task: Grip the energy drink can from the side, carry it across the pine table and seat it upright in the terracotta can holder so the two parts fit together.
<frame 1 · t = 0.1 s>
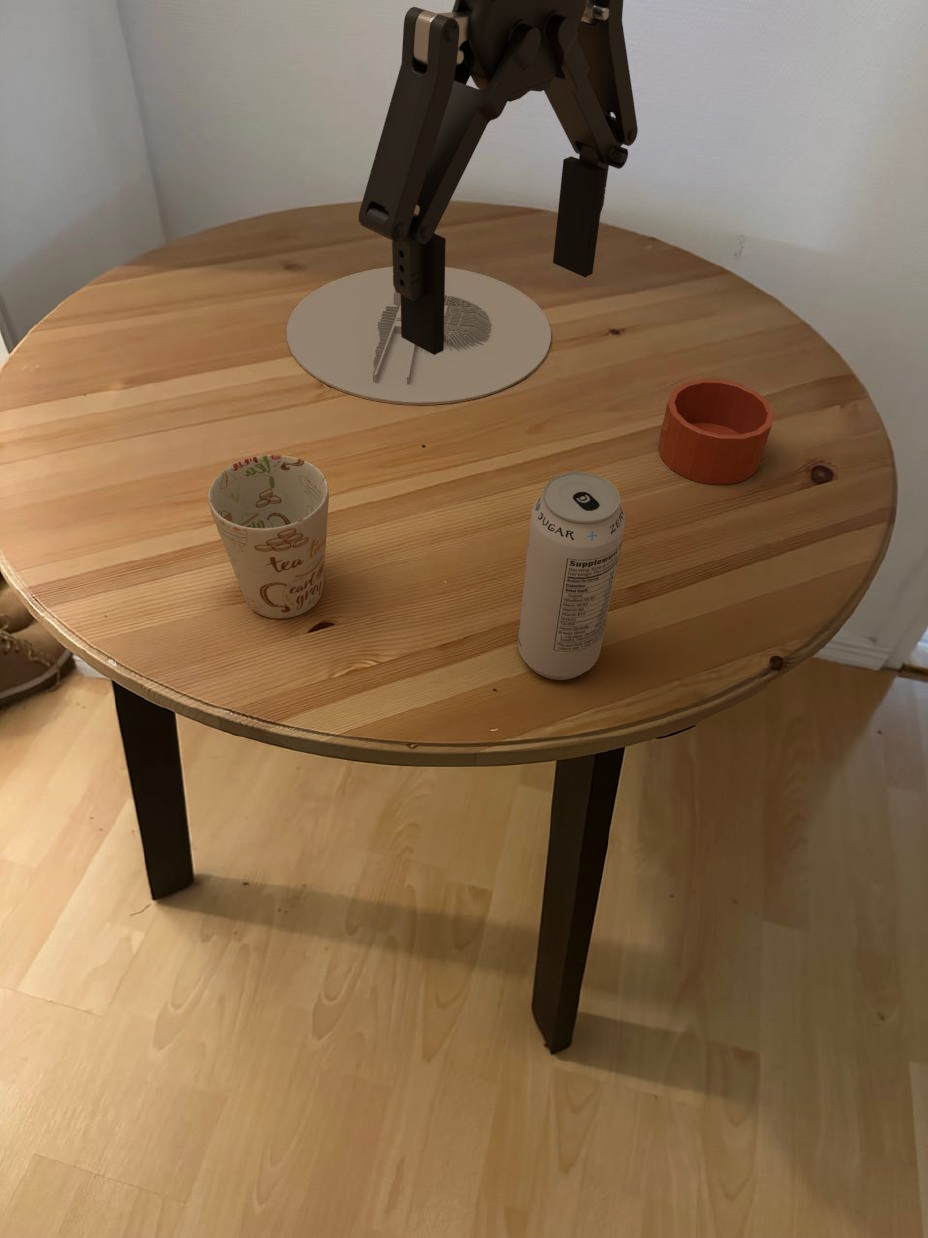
hand: (501, 304, 58), 24 cm above the table, tool pointing down, fingers open, 13 cm apart
mug: (281, 574, 75), on the table
energy drink can: (557, 656, 70), on the table
plate: (419, 331, 102), on the table
holder: (708, 453, 88), on the table
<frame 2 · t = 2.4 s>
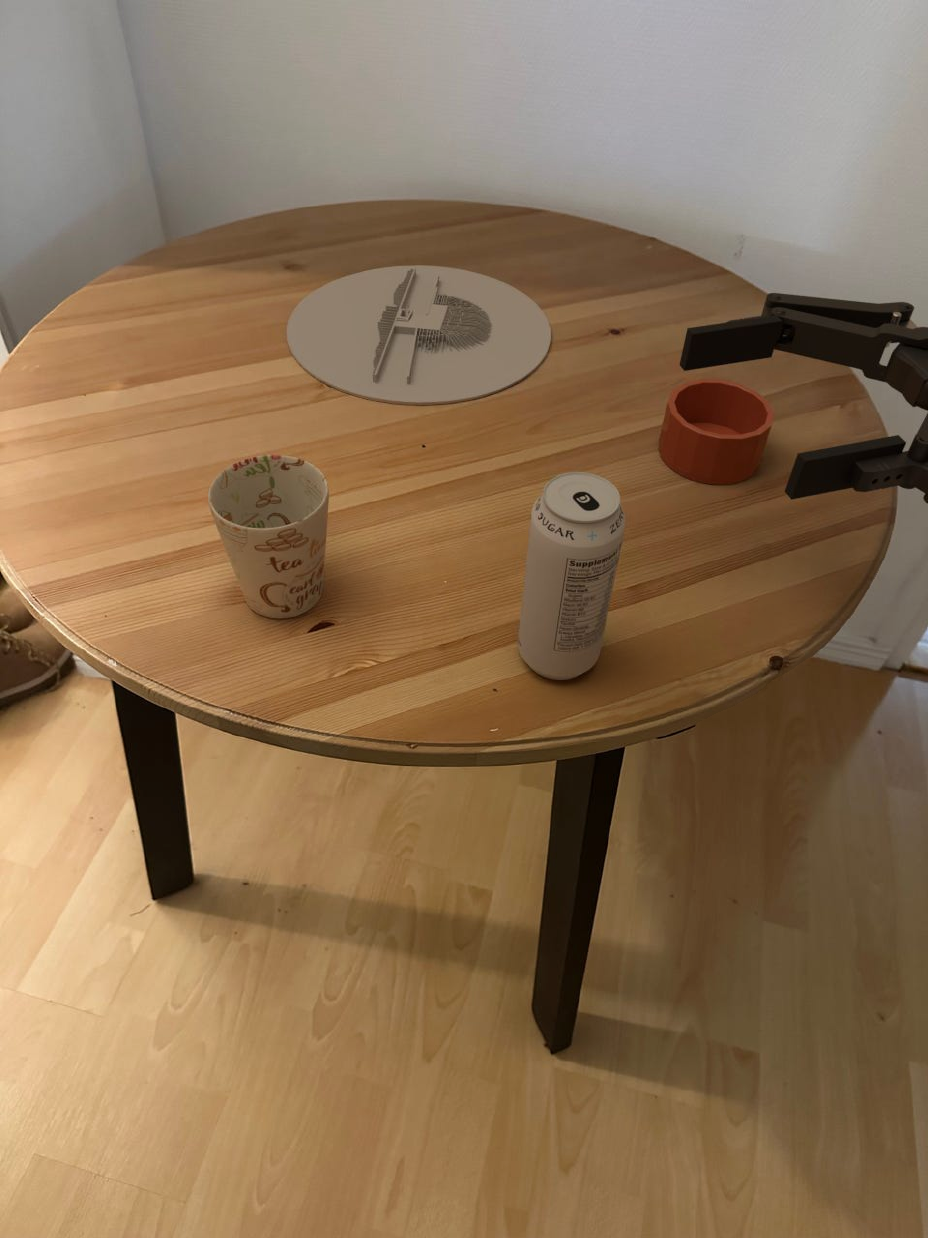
hand: (735, 408, 58), 20 cm above the table, tool horizontal, fingers open, 13 cm apart
nothing on the table moved.
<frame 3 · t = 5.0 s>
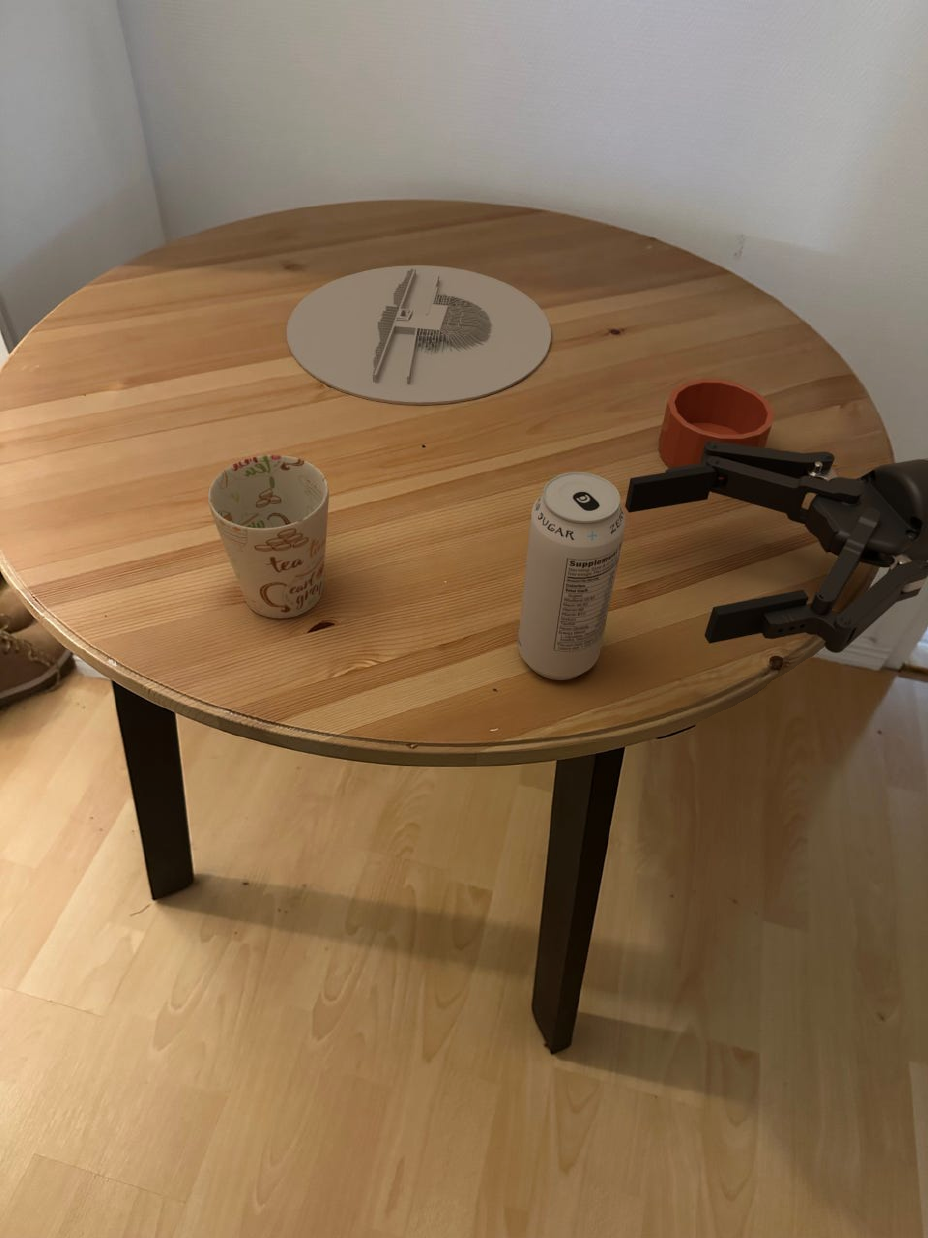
hand: (666, 556, 66), 8 cm above the table, tool horizontal, fingers open, 13 cm apart
nothing on the table moved.
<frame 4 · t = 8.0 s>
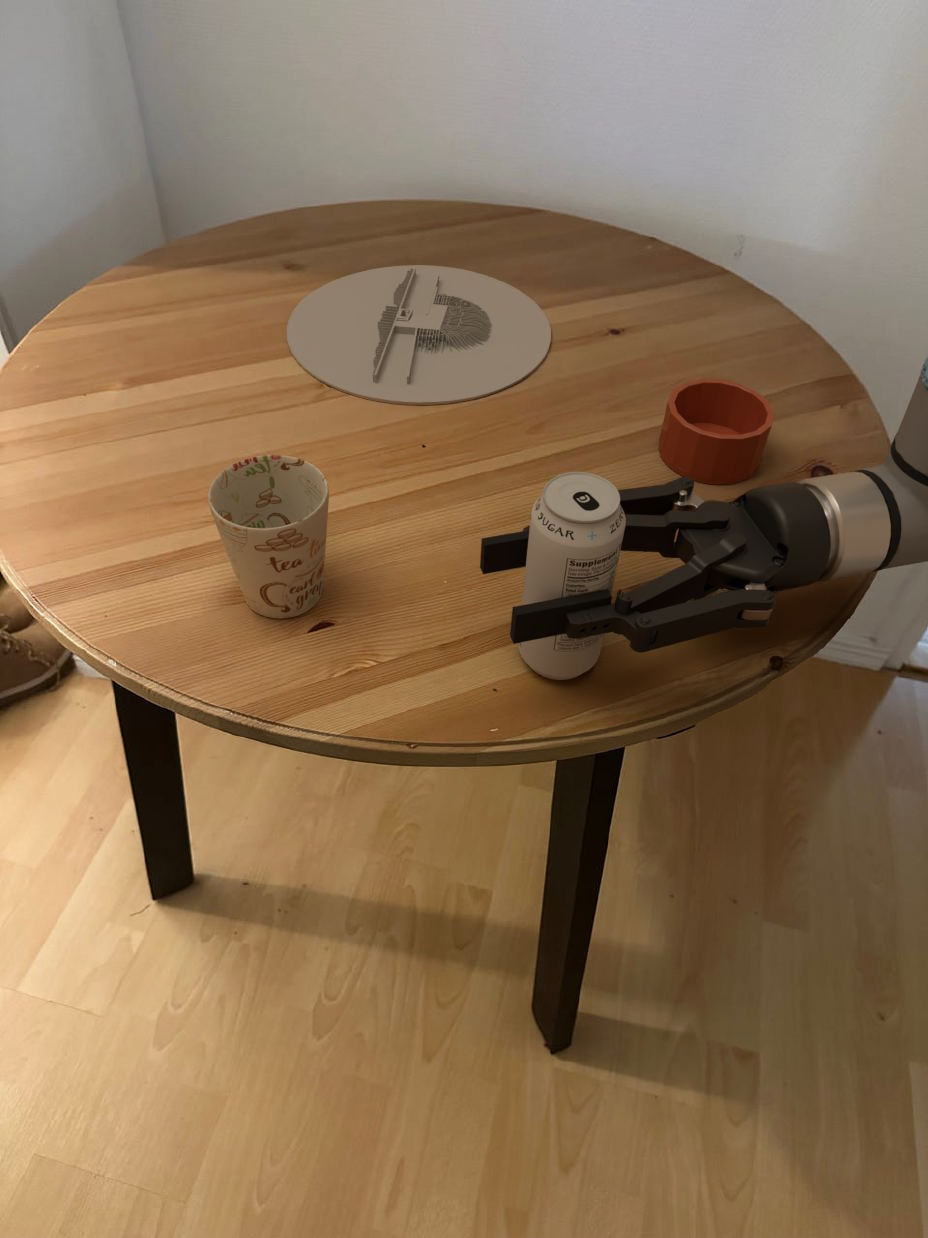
hand: (497, 589, 63), 8 cm above the table, tool horizontal, fingers closed on energy drink can, 6 cm apart
energy drink can: (557, 656, 70), on the table, touching gripper
everything else where it was.
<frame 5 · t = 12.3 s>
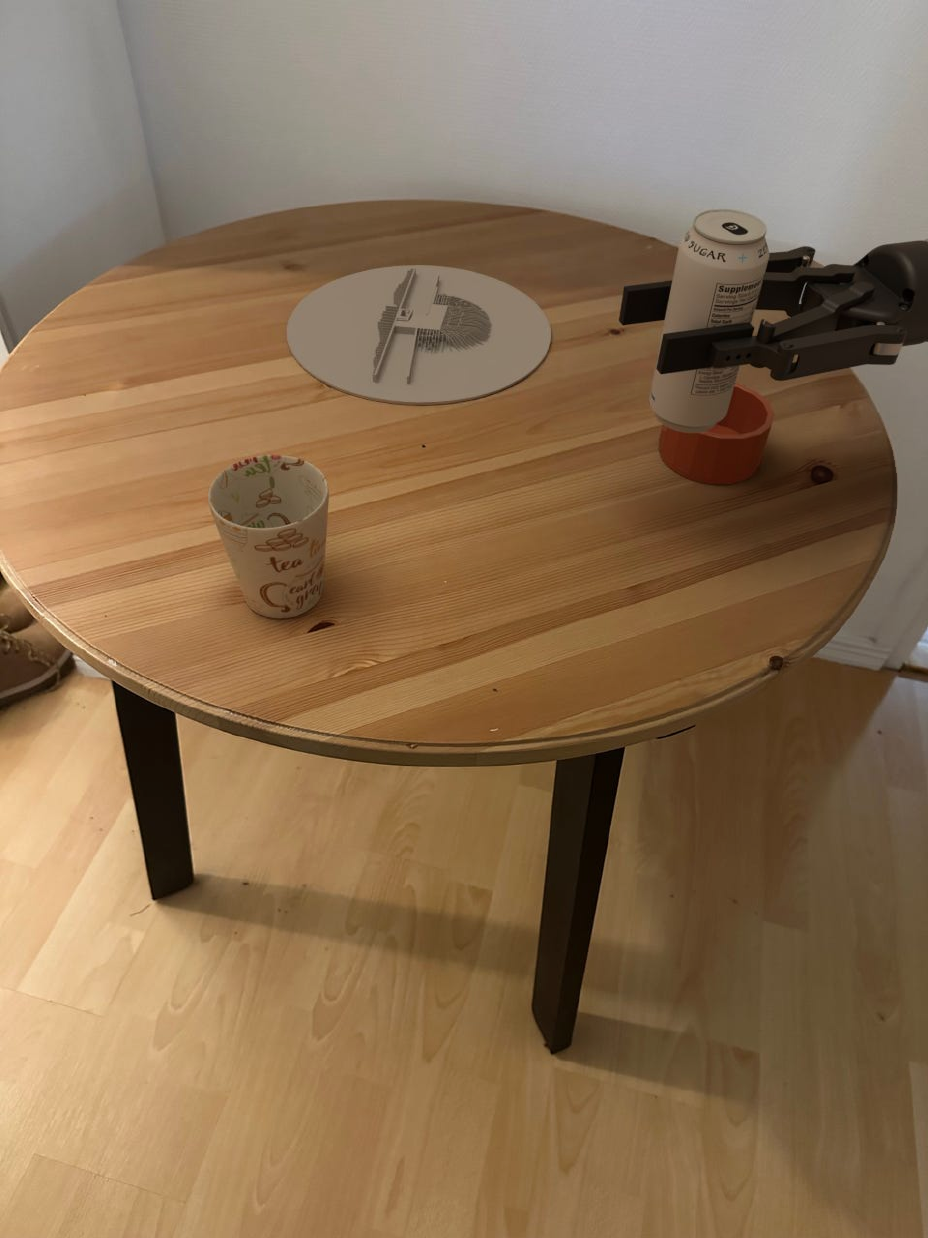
hand: (642, 329, 67), 18 cm above the table, tool horizontal, fingers closed on energy drink can, 6 cm apart
energy drink can: (685, 416, 74), point 10 cm above the table, touching gripper
everything else where it was.
when the fingers open (9 cm above the table, at t = 16.6 s): energy drink can stays where it is, resting on holder.
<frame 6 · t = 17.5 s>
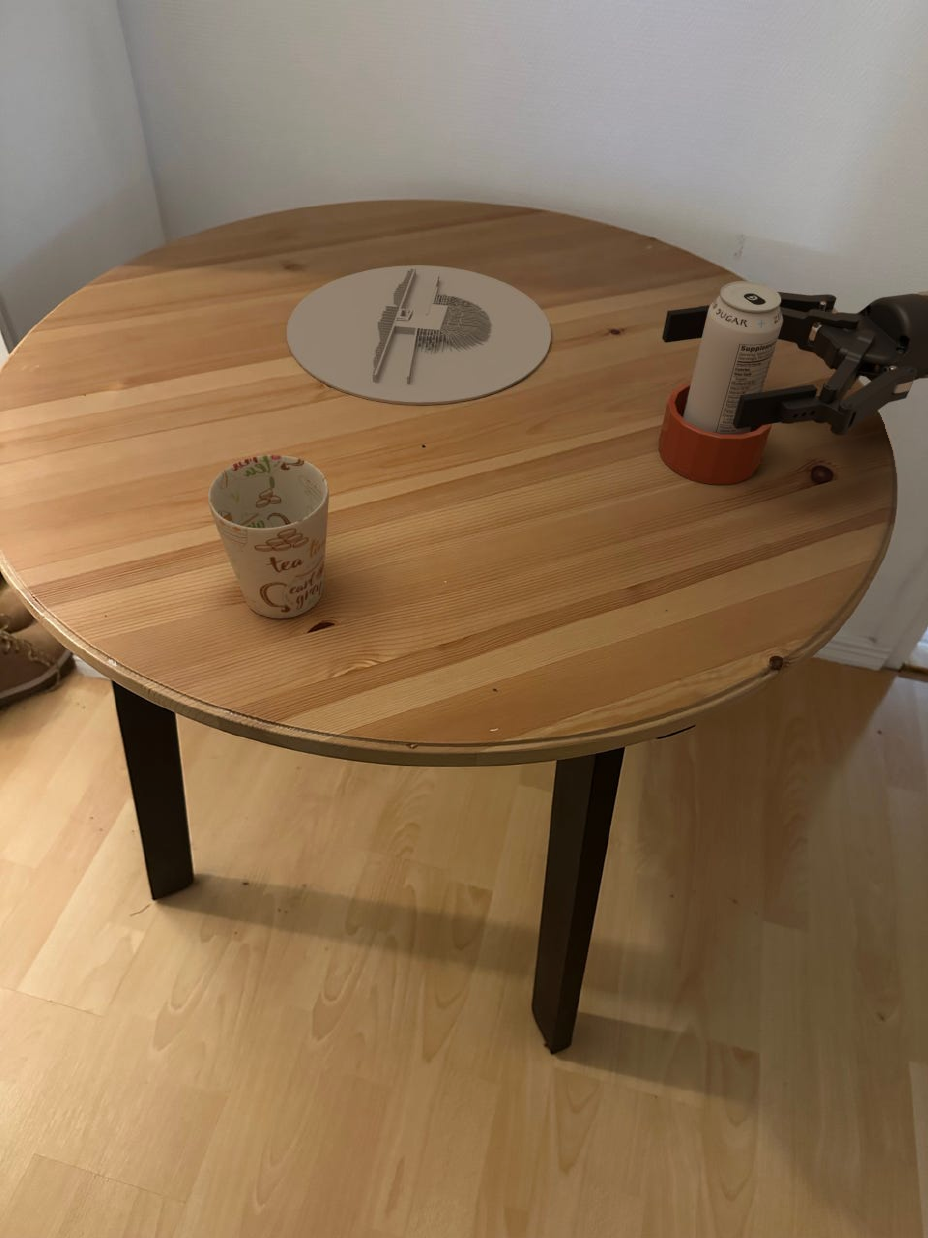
hand: (699, 367, 80), 10 cm above the table, tool horizontal, fingers open, 13 cm apart
energy drink can: (709, 449, 88), resting on holder
everything else where it was.
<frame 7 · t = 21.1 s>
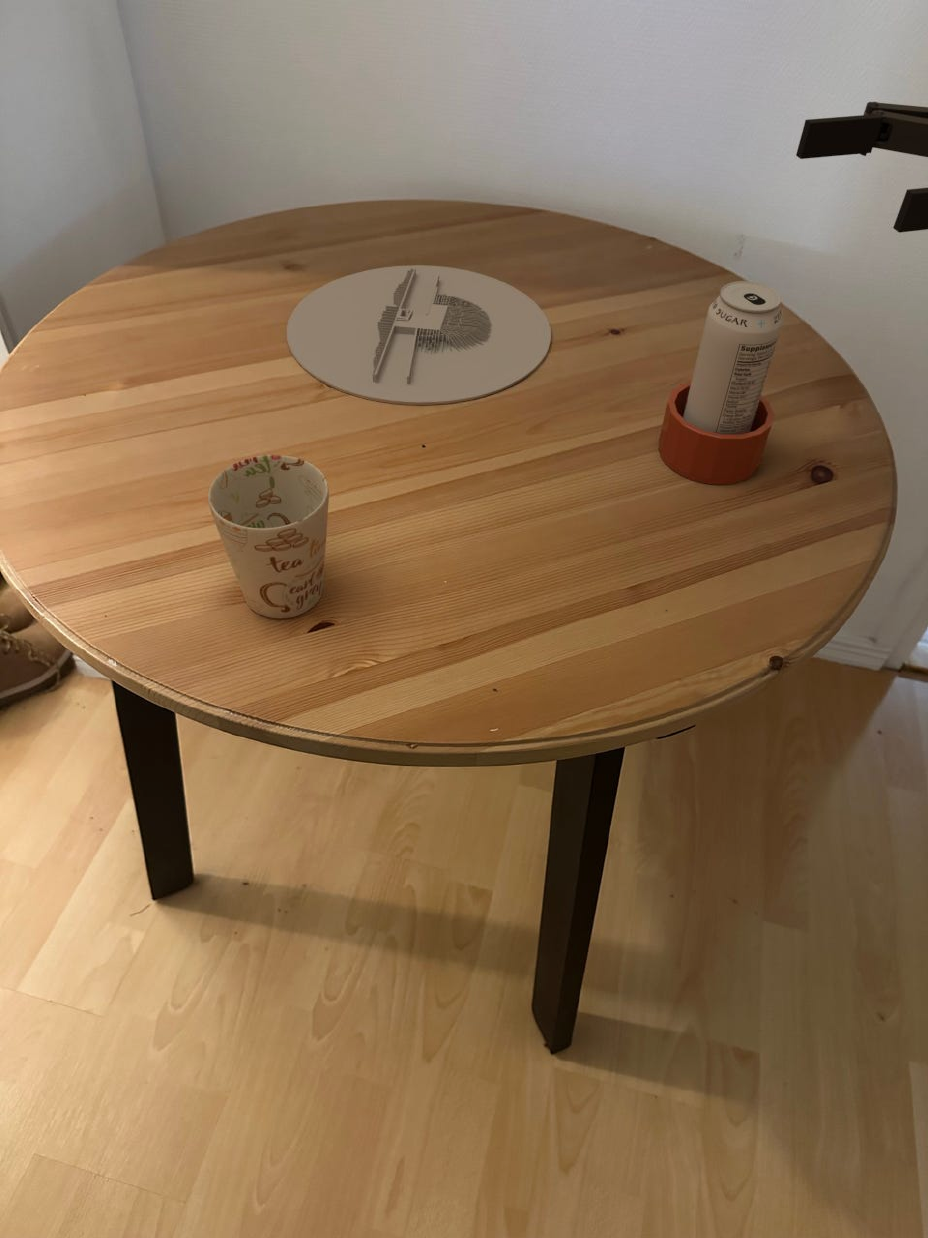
hand: (849, 173, 71), 25 cm above the table, tool horizontal, fingers open, 13 cm apart
nothing on the table moved.
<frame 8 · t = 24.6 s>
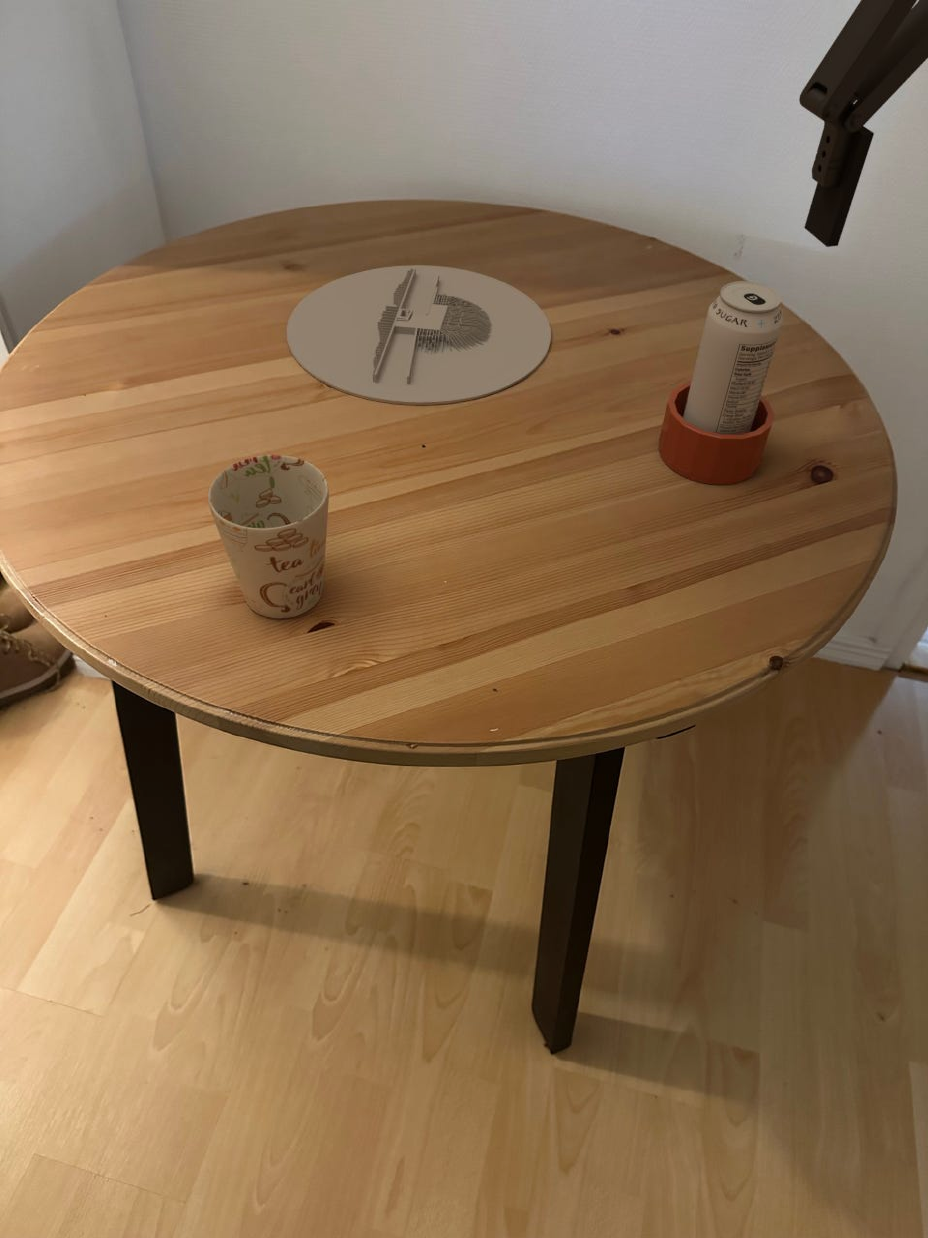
hand: (914, 226, 60), 27 cm above the table, tool pointing down, fingers open, 13 cm apart
nothing on the table moved.
at the end: energy drink can 0.0 cm off-centre in the holder, point 0.4 cm above the holder's base; energy drink can tilted 0°; the gripper is holding nothing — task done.
